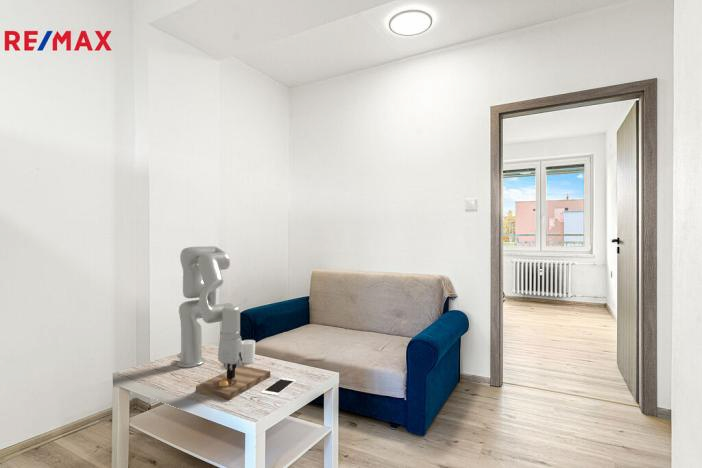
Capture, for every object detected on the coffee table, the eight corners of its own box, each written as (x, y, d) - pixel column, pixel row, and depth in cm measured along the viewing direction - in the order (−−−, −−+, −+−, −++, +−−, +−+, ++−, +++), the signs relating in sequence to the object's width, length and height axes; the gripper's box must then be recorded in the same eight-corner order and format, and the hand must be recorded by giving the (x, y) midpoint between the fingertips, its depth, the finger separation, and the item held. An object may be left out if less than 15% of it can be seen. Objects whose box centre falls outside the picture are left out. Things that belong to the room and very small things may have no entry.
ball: (223, 392, 151) (215, 388, 149) (227, 382, 154) (219, 379, 152) (228, 391, 149) (219, 388, 147) (231, 381, 151) (223, 378, 149)
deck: (240, 370, 172) (240, 365, 172) (270, 376, 164) (270, 371, 164) (195, 391, 148) (195, 385, 148) (228, 400, 141) (228, 394, 141)
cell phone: (260, 393, 148) (260, 392, 148) (281, 379, 163) (281, 377, 163) (276, 396, 145) (276, 395, 145) (296, 381, 160) (296, 380, 160)
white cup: (236, 362, 182) (236, 343, 182) (247, 357, 189) (247, 339, 189) (247, 365, 179) (247, 345, 179) (258, 360, 186) (258, 341, 186)
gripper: (211, 335, 154) (211, 378, 154) (238, 340, 148) (238, 384, 148) (224, 331, 161) (224, 372, 161) (250, 335, 154) (250, 377, 154)
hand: (230, 378), depth 154 cm, fingers closed
